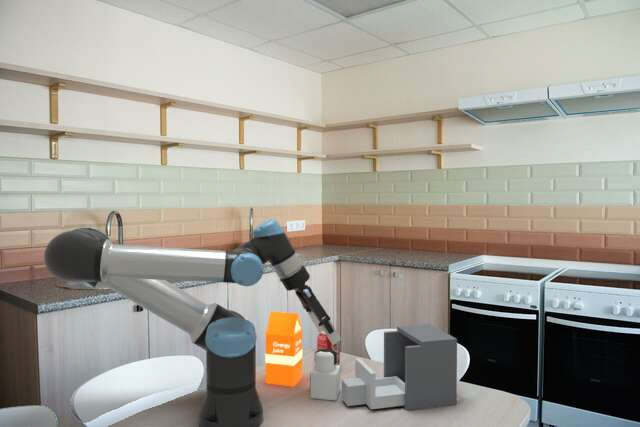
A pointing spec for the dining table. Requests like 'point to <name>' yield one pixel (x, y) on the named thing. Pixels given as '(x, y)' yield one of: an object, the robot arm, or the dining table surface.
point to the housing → (422, 365)
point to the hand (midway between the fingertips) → (329, 335)
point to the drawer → (372, 389)
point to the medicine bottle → (325, 376)
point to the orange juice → (283, 349)
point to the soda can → (328, 344)
